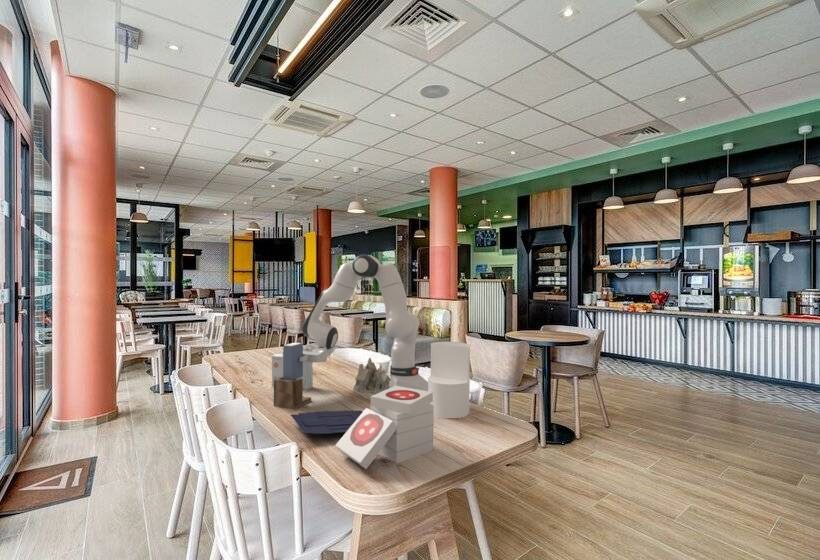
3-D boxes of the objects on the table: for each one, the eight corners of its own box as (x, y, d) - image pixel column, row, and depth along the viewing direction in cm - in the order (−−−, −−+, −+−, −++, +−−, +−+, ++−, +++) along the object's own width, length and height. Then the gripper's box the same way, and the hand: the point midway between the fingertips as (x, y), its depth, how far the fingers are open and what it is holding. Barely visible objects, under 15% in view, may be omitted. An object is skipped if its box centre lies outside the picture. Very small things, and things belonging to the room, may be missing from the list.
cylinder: (439, 402, 181) (439, 340, 181) (475, 409, 172) (476, 343, 172) (420, 414, 166) (420, 346, 166) (459, 422, 157) (459, 350, 157)
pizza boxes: (332, 455, 128) (332, 398, 128) (407, 432, 146) (407, 383, 146) (364, 479, 113) (364, 415, 113) (443, 451, 131) (443, 395, 131)
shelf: (311, 400, 183) (311, 375, 183) (294, 408, 172) (294, 381, 171) (290, 398, 187) (290, 373, 187) (273, 405, 175) (273, 379, 175)
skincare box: (271, 386, 206) (271, 355, 206) (277, 383, 211) (277, 353, 211) (307, 390, 200) (307, 358, 200) (313, 387, 205) (313, 356, 205)
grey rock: (348, 389, 201) (351, 359, 201) (373, 383, 213) (375, 355, 213) (369, 397, 191) (371, 366, 190) (394, 391, 203) (396, 362, 202)
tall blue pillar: (302, 376, 183) (302, 343, 182) (291, 380, 175) (291, 345, 175) (294, 375, 184) (294, 342, 184) (283, 379, 177) (283, 345, 176)
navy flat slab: (288, 420, 155) (289, 410, 155) (360, 416, 170) (361, 408, 170) (304, 443, 134) (305, 432, 134) (385, 437, 148) (386, 427, 149)
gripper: (293, 344, 196) (274, 350, 183) (329, 348, 189) (312, 353, 176) (292, 357, 196) (274, 363, 183) (329, 361, 189) (312, 368, 176)
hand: (293, 358), depth 180 cm, fingers closed on tall blue pillar, 4 cm apart
